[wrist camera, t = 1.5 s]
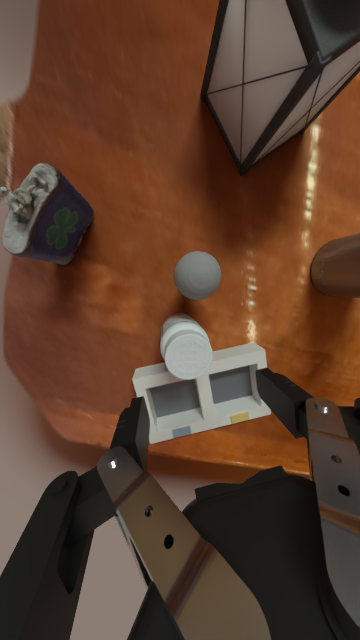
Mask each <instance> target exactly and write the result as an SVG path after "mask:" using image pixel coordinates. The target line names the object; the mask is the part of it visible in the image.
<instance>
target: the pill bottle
mask: <svg viewBox="0 0 360 640" xmlns="http://www.w3.org/2000/svg"><path fill="white" fill-rule="evenodd" d="M160 351H161V355H162V357H163V359H164V360H165V364H166V367H167V368H168V370H169V371H170V372H171V373H172V374H173V375H174V376H176V377H177V378H180V379H184V380H191V379H196V378H198V377H200V376H202V375H203V374H204V373H206V372H207V370H208V369H209V368H210V366H211V364H212V360H213V351H212V348H211V346H210V342H209V338H208V336H207V334H206V332H205V331H204V330H203V328H202V327H201V326H200V325H199V324H198V323H197V322H196V321H195V320H194V319H193V318H192V317H191V316H189V315H187V314H184V313H176V314H172V315H170V316H169V317H167V318H166V319H165V321H164V322H163V324H162V327H161V340H160Z"/></svg>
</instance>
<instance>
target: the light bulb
mask: <svg viewBox="0 0 360 640" xmlns="http://www.w3.org/2000/svg"><path fill="white" fill-rule="evenodd" d="M220 281H221V269H220V266H219V264H218V262H217V261H216V260H215V258H214V257H212V256H211V255H210V254H208V253H205V252H201V251H195V252H191V253H189V254H187V255H185V256H184V257H183V258H182V259H181V260H180V261H179V262H178V263H177V265H176V268H175V271H174V282H175V285H176V287H177V289H178V290H179V292H180V293H181V294H182V295H184V296H185V297H187V298H190V299H193V300H202V299H205V298H208V297H209V296H211V295H212V294H213V293H214V292H215V291H216V290H217V288H218V286H219V284H220Z"/></svg>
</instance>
